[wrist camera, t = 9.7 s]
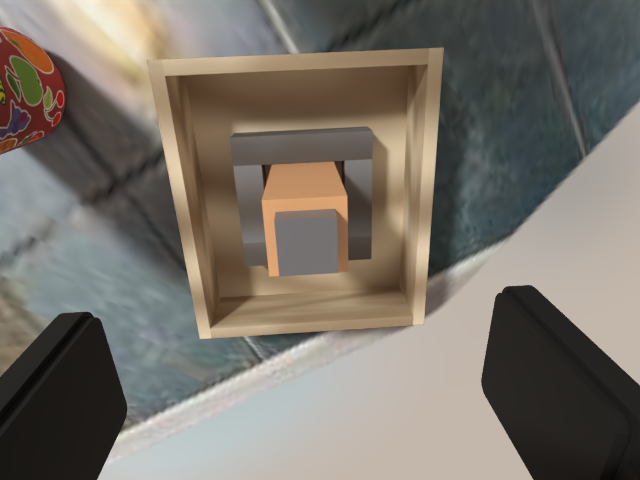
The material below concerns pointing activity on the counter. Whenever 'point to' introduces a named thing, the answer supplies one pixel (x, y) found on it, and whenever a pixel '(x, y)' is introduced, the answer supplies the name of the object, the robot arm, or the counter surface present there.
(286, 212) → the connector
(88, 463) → the robot arm
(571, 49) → the counter surface
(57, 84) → the smoothie
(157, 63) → the walled tray
